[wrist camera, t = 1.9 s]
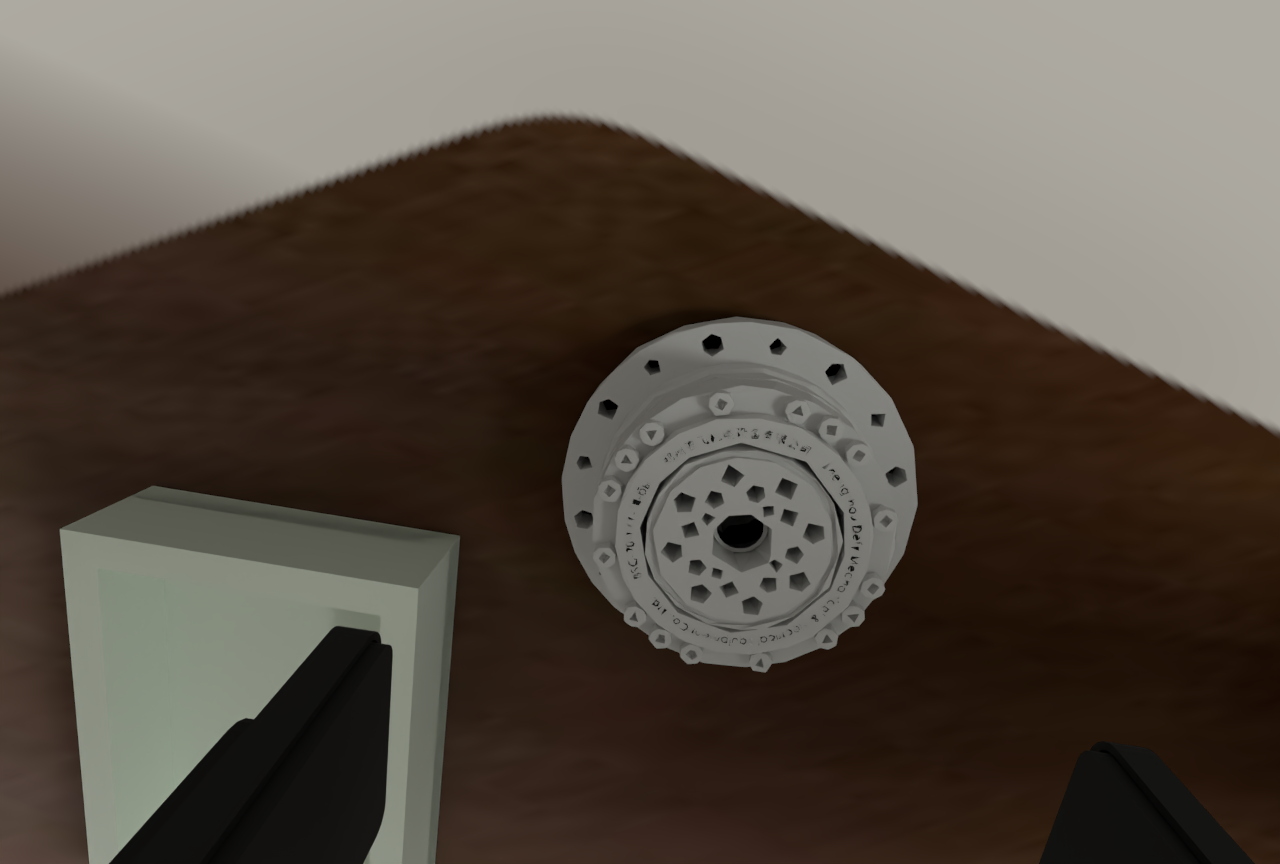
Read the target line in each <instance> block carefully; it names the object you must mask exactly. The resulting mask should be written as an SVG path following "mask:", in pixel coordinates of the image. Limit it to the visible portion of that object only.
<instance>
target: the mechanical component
mask: <svg viewBox="0 0 1280 864" xmlns="http://www.w3.org/2000/svg"><path fill="white" fill-rule="evenodd" d="M711 334H713V335H716V336H719V337H721V340H722V343H721V345H720V346H719V348H718V349H706V347H705V345H704V344H703V342H702V341H703V340H704V339H706V338H707V337H708V336H709V335H711ZM777 338H779V339H780V340H781V346H780V347H777V348H774V349H772V350H770V347H769V346H770V345H771V344H772V343H773V342H774V341H775V340H776V339H777ZM649 360H657V361H658V363H659V367H653V368H651V367H650V365H649V363H648V361H649ZM831 364H840V366H841V367H840V369H839V371H838V372H837V374H836V375H834V376H830V377H827V375H826V373H825V371H826V370H827V369H828V368H829V367H830V366H831ZM607 399H610V400H611V401H612V402H614V403H615V404H617V405H618V408H617V409H613V410H607V409H606V407H605V405H604V403H603V401H604V400H607ZM871 414H876V415H875V416H873V417H871ZM585 457H589V458H585ZM894 467H896V468H895V470H894V471H893V473H892V474H891V473H887V472H888V471H890V470H891V469H893V468H894ZM782 478H784V479H782ZM781 479H782V480H781ZM562 492H563V505H564V517H565V523H566V526H567V529H568V532H569V535H570V539H571V542H572V545H573V548H574V551H575V553H576V555H577V557H578V559H579V561H580V562H581V564H582V566H583V568H584V569H585V571H586V573H587V575H588V576H589V578H590V580H591V582H592V583H593V584H594V585H595V586H596V587H597V589H598V590H599V591H600V592H601V593H602V594H603V595H604V596H605V598H606V599H607V600H608V601H609V602H610V603H611V604H612V605H613V606H614V607H615V608H616V609H617V610H619V611H620V612H621V613H623V614H624V621H625V622H626V623H627V624H629V625H630V626H632V627H638V628H639V629H641V630H642V631H643V632H645V633H646V634H647V635H649V640H650V642H651V643H652V644H653V645H654V646H655V648H656V649H659V648H669V649H671V650H674V651H676V652H679V653H680V657H681V658H682V659H683V660H684V661H685V662H686V663H687V664H696V663H698V662H699V661H700V662H702V663H708V664H718V665H728V666H738V667H750V666H751V668H752V670H753V671H759V672H765V673H766V671H767V670H768V669H769V667H770V666H771V664H773V663H781V662H786V661H789V660H791V659H794V658H796V657H799V656H801V655H804V654H806V653H809V652H811V651H814V650H816V649H819V648H823V649H827V650H829V649H831V648H833V647H835V646H836V645H837V640H838V635H840V634H841V633H842V632H844V631H845V630H847V629H848V628H850V627H856V626H860V625H861V623H862V622H863V621H864V620H865V614H864V610H865V609H866V608H867V607H868V605H869V604H870V603H871V602H872V601H873V599H876V598H878V597H880V596H882V594H883V593H884V591H885V587H884V584H885V582H886V581H887V579H888V578H889V576H890V575H891V573H892V571H893V570H894V568H895V567H896V565H897V564H898V562H899V561H900V559H901V558H902V556H903V555H904V551H905V548H906V544H907V541H908V537H909V534H910V530H911V527H912V523H913V520H914V516H915V512H916V509H917V505H918V502H917V487H916V472H915V457H914V446H913V444H912V442H911V440H910V438H909V435H908V433H907V431H906V429H905V427H904V424H903V422H902V420H901V418H900V416H899V413H898V411H897V409H896V407H895V405H894V402H893V400H892V398H891V397H890V396H889V395H888V394H887V393H886V392H885V390H884V389H883V388H882V387H881V386H880V385H879V384H878V383H877V382H876V380H875V379H874V378H873V377H872V376H871V375H870V374H869V373H868V372H867V370H866V369H865V368H864V367H863V366H862V365H861V364H860V363H859V362H857V361H856V360H855V359H854V358H853V357H851V356H850V355H848V354H846V353H845V352H843V351H842V350H840V349H838V348H837V347H835V346H834V345H832V344H830V343H829V342H827V341H826V340H824V339H822V338H821V337H819V336H818V335H816V334H814V333H811V332H808V331H806V330H803V329H800V328H797V327H795V326H792V325H789V324H787V323H784V322H777V321H769V320H761V319H753V318H744V317H731V318H725V319H719V320H713V321H707V322H702V323H696V324H690V325H684V326H682V327H680V328H678V329H676V330H674V331H671V332H669V333H667V334H665V335H663V336H661V337H658V338H656V339H654V340H652V341H650V342H648V343H645V344H643V345H641V346H639V347H637V348H636V349H635V350H634V351H633V352H632V353H631V354H630V355H629V356H628V357H627V358H626V359H625V360H624V361H623V362H622V363H621V364H620V365H619V366H618V367H617V368H616V369H615V370H614V371H613V372H612V373H611V374H610V375H609V376H608V377H607V378H606V379H605V380H604V381H603V382H602V383H601V384H600V385H599V386H598V388H597V389H596V391H595V392H594V394H593V395H592V396H591V398H590V399H589V401H588V402H587V404H586V406H585V408H584V410H583V412H582V414H581V416H580V419H579V421H578V423H577V425H576V427H575V429H574V431H573V433H572V435H571V437H570V442H569V447H568V451H567V456H566V460H565V465H564V469H563V474H562ZM681 492H682V493H684V495H682V494H681ZM582 510H584V511H587V512H590V513H592V515H589V514H585V513H582ZM753 516H754V517H753ZM755 518H757V519H758V520H759V521H761V522H762V523H763V524H764V525H763V533H762V535H761V537H760V538H758V539H755V540H753V541H750V542H747V543H741V544H725V543H724V542H723V541H722V540H721V539H720V537H719V535H718V533H717V529H718V530H719V531H721V532H722V533H723V532H724V531H725V530H726V528H727V527H728V526H730V525H739V524H748V523H750V522H751V521H752V520H753V519H755Z"/></svg>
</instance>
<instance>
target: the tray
mask: <svg viewBox="0 0 1280 864" xmlns="http://www.w3.org/2000/svg"><path fill="white" fill-rule="evenodd" d="M60 539H61V550H62V561H63V573H64V584H65V595H66V606H67V618H68V629H69V640H70V651H71V663H72V674H73V685H74V696H75V707H76V719H77V730H78V741H79V752H80V764H81V775H82V786H83V797H84V809H85V820H86V831H87V842H88V854H89V864H109V863H110V862H111V861H112V860H113V858H114V857H115V856H116V855H117V854H118V853H119V852H120V851H121V849H122V848H123V847H124V846H125V845H126V844H127V843H128V842H129V840H130V839H131V838H132V837H133V836H134V835H135V834H136V833H137V831H138V830H139V829H140V828H141V827H142V826H143V825H144V824H145V822H146V821H147V820H148V819H149V818H150V817H151V816H152V815H153V813H154V812H155V811H156V810H157V809H158V808H159V807H160V806H161V805H162V803H163V802H164V801H165V800H166V799H167V798H168V797H169V796H170V794H171V793H172V792H173V791H174V790H175V789H176V788H177V787H178V785H179V784H180V783H181V782H182V781H183V780H184V779H185V778H186V776H187V775H188V774H189V773H190V772H191V771H192V770H193V769H194V767H195V766H196V765H197V764H198V763H199V762H200V761H201V760H202V758H203V757H204V756H205V755H206V754H207V753H208V752H209V751H210V749H211V748H212V747H213V746H214V745H215V744H216V743H217V742H218V741H219V739H220V738H221V737H222V736H223V735H224V734H225V733H226V732H227V730H228V729H230V728H231V727H232V726H233V725H234V724H235V723H236V722H237V721H240V720H242V719H245V718H249V719H255V718H256V716H257V715H258V714H259V713H260V712H261V711H262V709H263V708H264V707H265V706H266V705H267V704H268V702H269V701H270V700H271V699H272V698H273V697H274V695H275V694H276V693H277V692H278V691H279V690H280V688H281V687H282V686H283V685H284V684H285V683H286V681H287V680H288V679H289V678H290V677H291V676H292V674H293V673H294V672H295V671H296V670H297V669H298V667H299V666H300V665H301V664H302V663H303V662H304V660H305V659H306V658H307V657H308V656H309V655H310V653H311V652H312V651H313V650H314V649H315V648H316V646H317V645H318V644H319V643H320V642H321V641H322V639H323V638H324V637H325V636H326V635H327V634H328V632H329V631H330V630H331V629H332V628H334V627H335V626H343V627H350V628H356V629H363V630H370V631H376V632H378V633H379V634H380V637H381V644H388V645H391V646H392V650H393V661H392V681H391V702H390V723H389V743H388V764H387V784H386V804H385V811H384V816H383V820H382V824H381V827H380V829H379V832H378V834H377V837H376V839H375V841H374V843H373V845H372V847H371V849H370V851H369V853H368V855H367V857H366V859H365V861H364V863H363V864H435V859H436V846H437V833H438V820H439V807H440V794H441V781H442V768H443V755H444V742H445V729H446V715H447V702H448V689H449V676H450V663H451V650H452V637H453V624H454V611H455V598H456V585H457V572H458V559H459V546H460V536H459V535H453V534H446V533H440V532H434V531H428V530H422V529H416V528H410V527H403V526H397V525H391V524H385V523H379V522H373V521H367V520H361V519H354V518H348V517H342V516H336V515H330V514H324V513H318V512H311V511H305V510H299V509H293V508H287V507H281V506H275V505H269V504H262V503H256V502H250V501H244V500H238V499H232V498H226V497H219V496H213V495H207V494H201V493H195V492H189V491H183V490H177V489H170V488H164V487H158V486H151V487H149V488H147V489H145V490H142V491H140V492H138V493H136V494H134V495H132V496H130V497H127V498H125V499H123V500H121V501H119V502H117V503H114V504H112V505H110V506H108V507H106V508H104V509H101V510H99V511H97V512H95V513H93V514H91V515H89V516H86V517H84V518H82V519H80V520H78V521H76V522H73V523H71V524H69V525H67V526H65V527H63V528H61V529H60Z"/></svg>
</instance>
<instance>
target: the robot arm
mask: <svg viewBox="0 0 1280 864" xmlns="http://www.w3.org/2000/svg"><path fill="white" fill-rule="evenodd" d="M392 661H393V650H392V646H391V645H388V644H381V637H380V634H379V633H378V632H376V631H370V630H363V629H356V628H350V627H343V626H335V627H334V628H332V629H331V630H330V631H329V632H328V634H327V635H326V636H325V637H324V638H323V639H322V641H321V642H320V643H319V644H318V645H317V646H316V648H315V649H314V650H313V651H312V652H311V653H310V655H309V656H308V657H307V658H306V659H305V660H304V662H303V663H302V664H301V665H300V666H299V667H298V669H297V670H296V671H295V672H294V673H293V674H292V676H291V677H290V678H289V679H288V680H287V681H286V683H285V684H284V685H283V686H282V687H281V688H280V690H279V691H278V692H277V693H276V694H275V695H274V697H273V698H272V699H271V700H270V701H269V702H268V704H267V705H266V706H265V707H264V708H263V709H262V711H261V712H260V713H259V714H258V715H257V716H256V718H255V719H249V718H245V719H242V720H240V721H237V722H236V723H235V724H234V725H233V726H232V727H231V728H230V729H228V730H227V732H226V733H225V734H224V735H223V736H222V737H221V738H220V739H219V741H218V742H217V743H216V744H215V745H214V746H213V747H212V748H211V749H210V751H209V752H208V753H207V754H206V755H205V756H204V757H203V758H202V760H201V761H200V762H199V763H198V764H197V765H196V766H195V767H194V769H193V770H192V771H191V772H190V773H189V774H188V775H187V776H186V778H185V779H184V780H183V781H182V782H181V783H180V784H179V785H178V787H177V788H176V789H175V790H174V791H173V792H172V793H171V794H170V796H169V797H168V798H167V799H166V800H165V801H164V802H163V803H162V805H161V806H160V807H159V808H158V809H157V810H156V811H155V812H154V813H153V815H152V816H151V817H150V818H149V819H148V820H147V821H146V822H145V824H144V825H143V826H142V827H141V828H140V829H139V830H138V831H137V833H136V834H135V835H134V836H133V837H132V838H131V839H130V840H129V842H128V843H127V844H126V845H125V846H124V847H123V848H122V849H121V851H120V852H119V853H118V854H117V855H116V856H115V857H114V858H113V860H112V861H111V862H110V863H109V864H363V863H364V861H365V859H366V857H367V855H368V853H369V851H370V849H371V847H372V845H373V843H374V841H375V839H376V837H377V834H378V832H379V829H380V827H381V824H382V820H383V816H384V811H385V804H386V784H387V764H388V743H389V723H390V702H391V681H392ZM1039 864H1255V863H1254V862H1253V861H1252V860H1251V859H1250V858H1249V857H1248V856H1247V855H1246V853H1245V852H1244V851H1243V850H1242V849H1241V848H1240V847H1239V846H1238V845H1237V843H1236V842H1235V841H1234V840H1233V839H1232V838H1231V837H1230V836H1229V835H1228V834H1227V832H1226V831H1225V830H1224V829H1223V828H1222V827H1221V826H1220V825H1219V824H1218V822H1217V821H1216V820H1215V819H1214V818H1213V817H1212V816H1211V815H1210V814H1209V812H1208V811H1207V810H1206V809H1205V808H1204V807H1203V806H1202V805H1201V804H1200V802H1199V801H1198V800H1197V799H1196V798H1195V797H1194V796H1193V795H1192V794H1191V792H1190V791H1189V790H1188V789H1187V788H1186V787H1185V786H1184V785H1183V784H1182V782H1181V781H1180V780H1179V779H1178V778H1177V777H1176V776H1175V775H1174V774H1173V773H1172V771H1171V770H1170V769H1169V768H1168V767H1167V766H1166V765H1165V764H1164V763H1163V761H1162V760H1161V759H1160V758H1159V757H1158V756H1157V755H1156V754H1155V753H1154V752H1152V751H1151V750H1150V749H1147V748H1144V747H1138V746H1131V745H1125V744H1118V743H1111V742H1105V741H1103V742H1097V743H1096V744H1095V745H1094V746H1092V748H1091V750H1090V751H1084V752H1083V753H1082V754H1081V755H1080V756H1079V758H1078V760H1077V763H1076V766H1075V768H1074V771H1073V774H1072V776H1071V779H1070V782H1069V784H1068V787H1067V790H1066V793H1065V795H1064V798H1063V801H1062V803H1061V806H1060V809H1059V811H1058V814H1057V817H1056V819H1055V822H1054V825H1053V828H1052V830H1051V833H1050V836H1049V838H1048V841H1047V844H1046V846H1045V849H1044V852H1043V854H1042V857H1041V860H1040V863H1039Z"/></svg>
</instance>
